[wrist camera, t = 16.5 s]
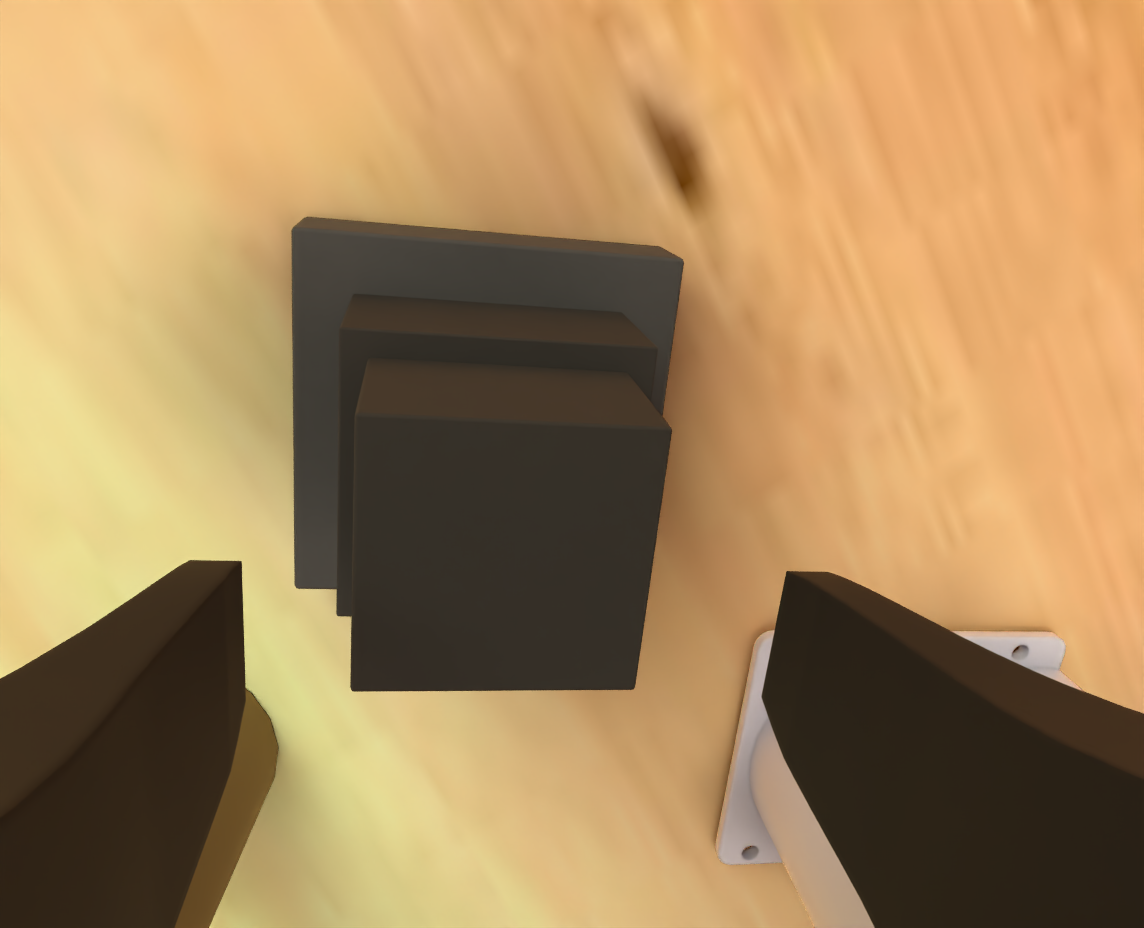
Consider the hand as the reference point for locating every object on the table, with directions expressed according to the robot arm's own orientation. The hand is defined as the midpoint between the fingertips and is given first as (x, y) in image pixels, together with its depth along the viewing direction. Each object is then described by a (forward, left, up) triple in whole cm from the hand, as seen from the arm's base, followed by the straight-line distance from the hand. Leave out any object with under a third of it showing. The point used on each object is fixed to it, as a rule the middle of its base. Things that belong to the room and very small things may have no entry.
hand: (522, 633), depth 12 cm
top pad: (0, 0, -5) cm, 5 cm away
